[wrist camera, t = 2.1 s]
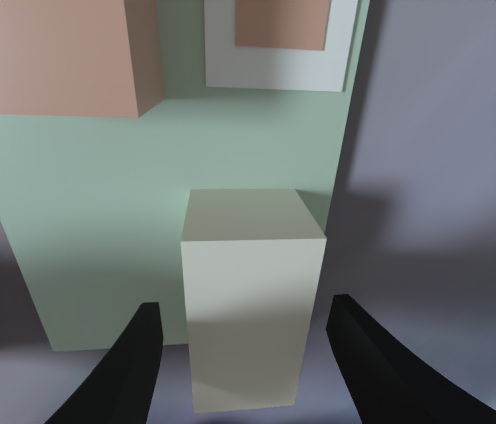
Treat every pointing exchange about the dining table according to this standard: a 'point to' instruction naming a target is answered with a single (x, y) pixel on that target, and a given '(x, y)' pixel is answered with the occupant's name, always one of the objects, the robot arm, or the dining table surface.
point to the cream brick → (248, 295)
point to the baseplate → (156, 138)
